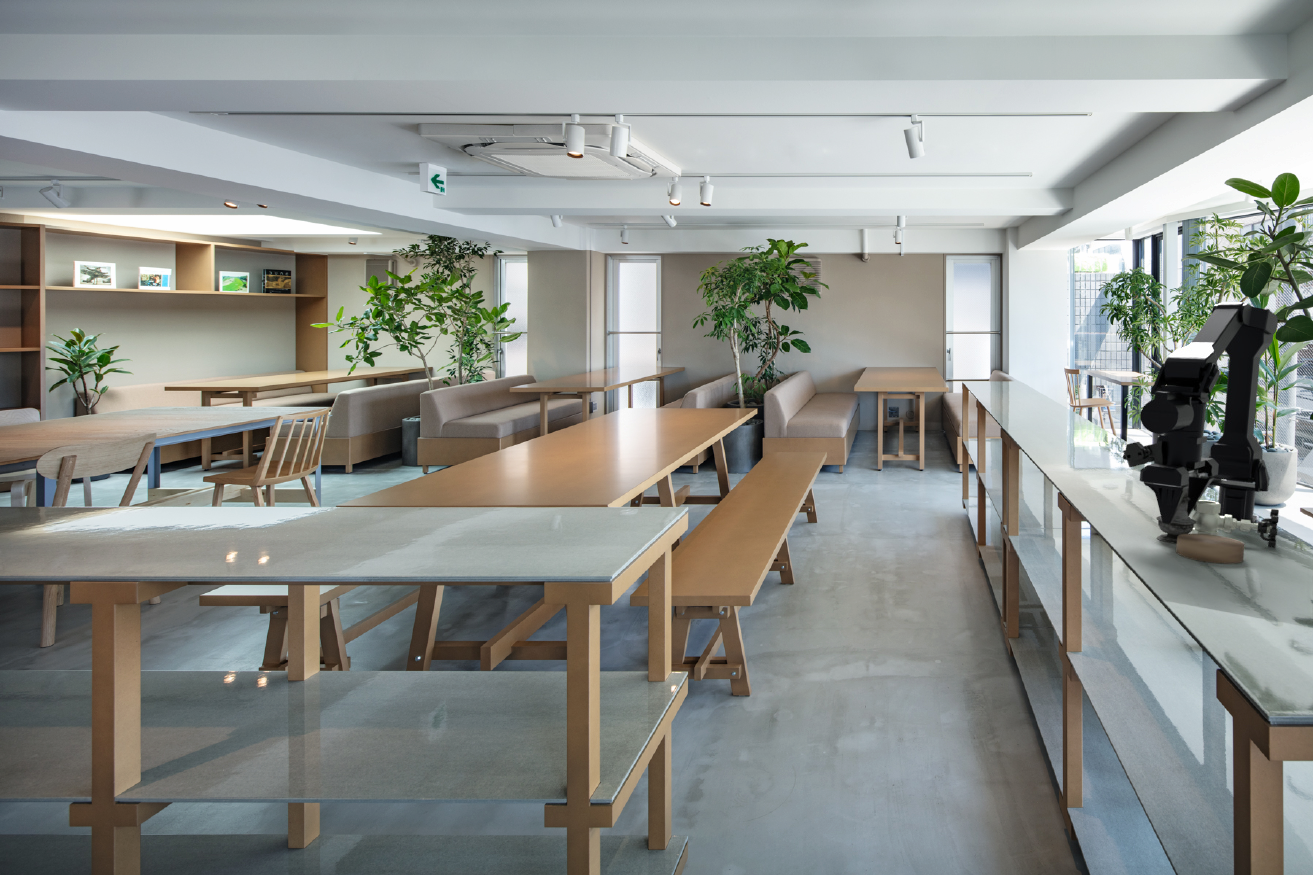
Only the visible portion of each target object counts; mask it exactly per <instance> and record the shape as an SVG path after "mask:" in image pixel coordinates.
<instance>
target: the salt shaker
mask: <svg viewBox="0 0 1313 875" xmlns="http://www.w3.org/2000/svg"><path fill="white" fill-rule="evenodd" d="M1186 486H1189V481H1188V482H1187V484H1186ZM1188 488H1189V487H1188ZM1189 500H1190V498H1188V489H1187V491H1186V493H1185V495H1184V497H1183V499H1182V501H1181V503H1180V505H1179V507H1178V509H1177V511H1176V513H1175V515H1174V517H1173V519H1172V521H1171V523H1170V524H1166V523H1163V522H1162V519H1161V515H1160V516H1156V518H1155V519H1156V520H1157V524H1158V527H1159V529H1160V530H1161V531H1162V532H1163V533H1162V534H1160V535H1158V536H1156V539H1157V540H1159V541H1161V542H1165V543H1171V544H1176V545H1177V536H1178V535H1181V534H1191V533H1192V530H1193V528H1194V524H1196V521H1195V520H1193V519H1192V517H1190V515H1189V516H1188V512H1187V506H1188V501H1189ZM1164 533H1165V534H1164Z"/></svg>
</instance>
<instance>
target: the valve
mask: <svg viewBox="0 0 1313 875" xmlns="http://www.w3.org/2000/svg"><path fill="white" fill-rule="evenodd" d="M1220 508H1221V504H1220V503H1218V501H1213V500H1205V499H1199V501H1197V502H1196V504H1195V506H1194V509H1193V511H1194V512H1193V514H1192V516H1191V519H1193V520H1195V521H1196V524H1194V528H1193V530H1192V531H1191V534H1208V535H1216V536H1219V531H1218V530H1222V531H1223V532H1225V533H1231V531H1233V530H1234V531H1235V530H1236V529H1240V530H1239V531H1242V532H1250V531H1251V530H1255V531H1257V532H1256V533H1258V534H1259V537H1260V539H1261V540H1263V541H1265V542H1267V548H1273V549H1275V548H1276V546H1277V539H1276V537H1277V536H1278V531H1279V530H1278V523H1279V517H1280V516H1279V513H1280V512H1279V511H1280V510H1279V509H1277V508H1271V510H1270V513H1269V514H1270V515H1269V516H1270V518H1269V517H1266V518H1263V519H1261V520H1258V522H1257V523H1255V522H1254V523H1251V521H1250V520H1242V519H1241V521H1237V520H1236V519H1233V518H1232V515H1226V514H1225V516H1220V515H1218V513H1220ZM1229 517H1230V518H1229ZM1265 535H1267V537H1266V536H1265Z"/></svg>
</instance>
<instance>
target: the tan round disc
mask: <svg viewBox="0 0 1313 875" xmlns="http://www.w3.org/2000/svg"><path fill="white" fill-rule="evenodd" d="M1175 552H1176V554H1177V555H1179V556H1181V557H1183V558H1187V559H1190V560H1195V561H1199V562H1205V563H1206V562H1207V563H1212V564H1214V563H1215V564H1228V565H1229V564H1230V565H1231V564H1238V563H1242V562H1243V561H1244V556H1245V554H1244V553H1245V543H1244V542H1242V541H1241V540H1237V539H1234V538H1230V537H1227V536H1226V537H1225V536H1221V535H1218V536H1216V535H1208V534H1192V533H1188V534H1181V535H1178V536H1177V544H1176V550H1175Z"/></svg>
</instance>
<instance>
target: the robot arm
mask: <svg viewBox="0 0 1313 875" xmlns="http://www.w3.org/2000/svg"><path fill="white" fill-rule="evenodd" d="M1277 330H1278V316H1277V315H1276V314H1275V313H1274V312H1272V311H1271V309H1269V308H1262V307H1261V308H1260V307H1258V306H1253V305H1252V304H1250V303H1245V302H1242V301H1241V302H1219V303H1218V304H1217V303H1216V304H1214V305H1213V307H1212V309H1211V314H1210V316H1209V317H1208V319H1207V320H1206V321H1205V323H1204V324H1203V325H1202V327H1201V328H1200V329H1199V331H1198V332H1197V333H1196V335H1195V336H1194V338H1193V339H1192V341H1190V343H1189V344H1188V345H1186V346H1183V347H1180V348H1177V349H1175V350H1174V351H1173V352H1172V353H1170V355H1169V356H1167V358H1166V359H1165V361H1164V362H1162V364H1161V366H1160V369H1159V370H1158V373H1157V376H1156V378H1155V381H1154V383H1153V385H1152V388H1151V391H1150V394H1151V396H1152V395H1153V396H1154V399H1151V400H1149V401H1148V402H1147V403H1145V404H1144V406H1143V407H1142V408H1141V411H1140V415H1139V416H1140V417H1139V419H1140V423H1141V425H1142V426H1143V427H1144V428H1145V429H1146V430H1147V431H1148V432H1151V433H1153V434H1157V435H1158V436H1157V437H1156V438H1157V439H1156V443H1152V444H1148V445H1143V444H1142V443H1141V442H1140V441H1134V442H1130V443H1126V446H1125V450H1123V455H1122V459H1123V460H1125V461H1127V463H1128V467H1129V468H1133V467H1137V466H1141V465H1145V466H1144V467H1142V468H1141V469H1140V470H1139V472H1140V474H1139V481H1140V482H1142V483H1143V484H1144V485H1145V486H1146V487H1148V488H1149V489H1150V490H1151V491H1153V493H1154V494H1155V498H1156V501H1157V506H1158V510H1159V513H1160V516H1161V519H1162V522H1163V523H1166V524H1170V523H1171V521H1172V519H1173V517H1174V515H1175V513H1176V511H1177V509H1178V507H1179V505H1180V503H1181V501H1182V499H1183V497H1184V495H1185V493H1186V491H1187V489H1188V498H1190V500H1189V501H1188V506H1187V512H1188V516H1189V517H1190V515H1191V513H1192V512H1193V511H1194V506H1195V504H1196V502H1197V501H1199V500H1201V498H1202V496H1203V495H1204V493H1205V492H1206V490H1207V489H1208V487H1209V486H1210V487H1211V486H1215V487H1216V486H1217V487H1219V488H1218V498H1217V502H1218V503H1220V504H1221V508H1220V513H1218V515H1220V516H1225V514H1226V515H1232V518H1233V519H1236V520H1237V521H1241V519H1242V520H1250V521H1251V523H1255V522H1256V520H1257V518H1258V517H1257V515H1255V514H1254V511H1255V502H1256V501H1255V499H1256V493H1260V492H1269V486H1270V475H1269V472H1268V469H1267V466H1266V462H1265V460H1264V459H1263V447H1262V446H1261V444H1260V443H1259V442H1258V440H1257V439H1256V437H1255V435H1254V432H1255V421H1256V420H1255V419H1256V409H1257V399H1258V398H1257V397H1258V386H1259V385H1258V384H1259V374H1260V364H1261V356H1262V355H1264V353H1265V352H1266V351H1267V349H1268V348H1269V347H1270V346H1271V344H1272V343H1273V338H1274V335H1275V334H1276V332H1277ZM1224 351H1225V353H1226V354H1227V356H1228V357H1229V358H1228V371H1227V380H1226V381H1227V383H1226V384H1227V385H1226V395H1225V408H1224V409H1225V410H1224V418H1223V419H1224V420H1223V429H1222V430H1223V431H1222V435H1221V437H1220V438H1218V440H1217V441H1216V442H1215V443H1214V442H1213V444H1212V445H1211V446H1210V455H1209V456H1208V457H1202V456H1203V445H1204V443H1208V435H1204V434H1205V422H1206V411H1207V403H1209V401H1210V399H1209V396H1208V395H1209V394H1211V393H1212V391H1213V389H1214V387H1215V385H1216V384H1217V382H1218V379H1219V377H1220V375H1221V372H1220V369H1219V365H1218V361H1219V359H1220V357H1221V356H1222V355H1223V353H1224ZM1152 462H1153V463H1152ZM1147 463H1151V464H1147ZM1146 464H1147V465H1146ZM1206 474H1207V476H1205V475H1206ZM1188 481H1189V486H1186V484H1187V482H1188ZM1188 487H1189V488H1188ZM1229 518H1230V517H1229Z"/></svg>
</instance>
